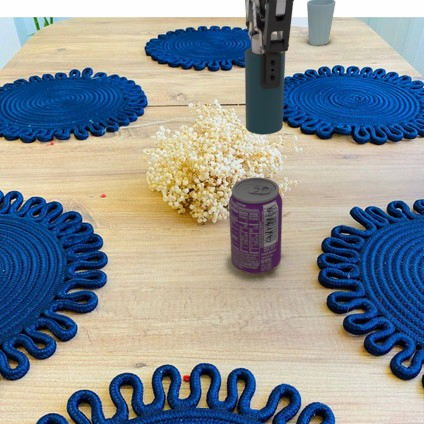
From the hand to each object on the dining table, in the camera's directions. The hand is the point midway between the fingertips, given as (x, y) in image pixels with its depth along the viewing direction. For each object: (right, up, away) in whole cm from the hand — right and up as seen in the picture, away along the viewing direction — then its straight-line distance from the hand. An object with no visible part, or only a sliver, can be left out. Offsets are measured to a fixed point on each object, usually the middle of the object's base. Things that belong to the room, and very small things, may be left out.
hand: (265, 79), depth 63 cm
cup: (+24, +48, +90) cm, 104 cm away
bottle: (0, -4, +4) cm, 6 cm away
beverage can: (0, -21, +14) cm, 25 cm away
